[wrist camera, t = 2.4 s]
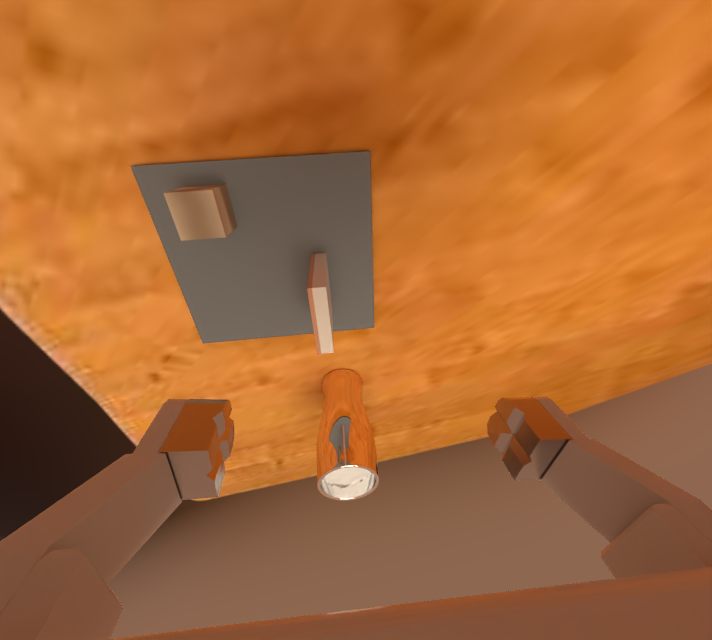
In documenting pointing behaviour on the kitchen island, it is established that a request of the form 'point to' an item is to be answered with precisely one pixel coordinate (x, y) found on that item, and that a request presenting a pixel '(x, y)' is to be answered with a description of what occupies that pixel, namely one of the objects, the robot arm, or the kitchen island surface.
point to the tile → (320, 303)
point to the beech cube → (201, 211)
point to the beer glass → (345, 440)
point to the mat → (271, 242)
